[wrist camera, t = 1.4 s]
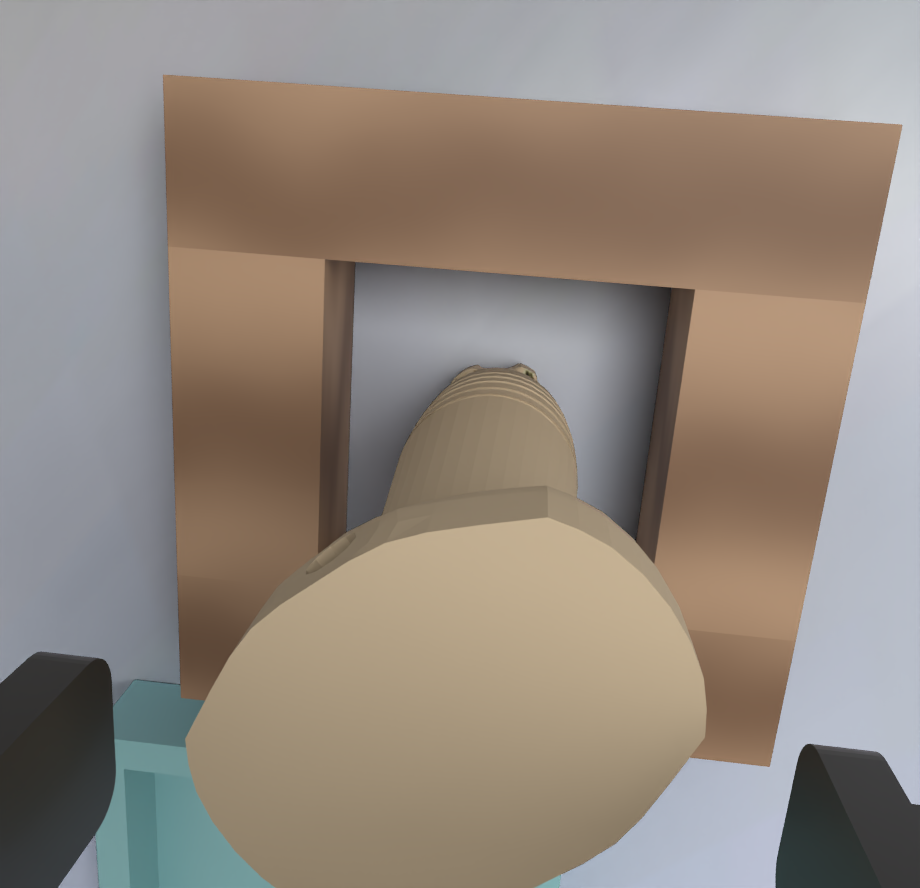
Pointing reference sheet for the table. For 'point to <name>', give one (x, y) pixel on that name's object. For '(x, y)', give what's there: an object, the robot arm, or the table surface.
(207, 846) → the tray
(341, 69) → the table surface
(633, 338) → the table surface
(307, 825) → the handle
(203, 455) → the socket block
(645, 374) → the table surface
